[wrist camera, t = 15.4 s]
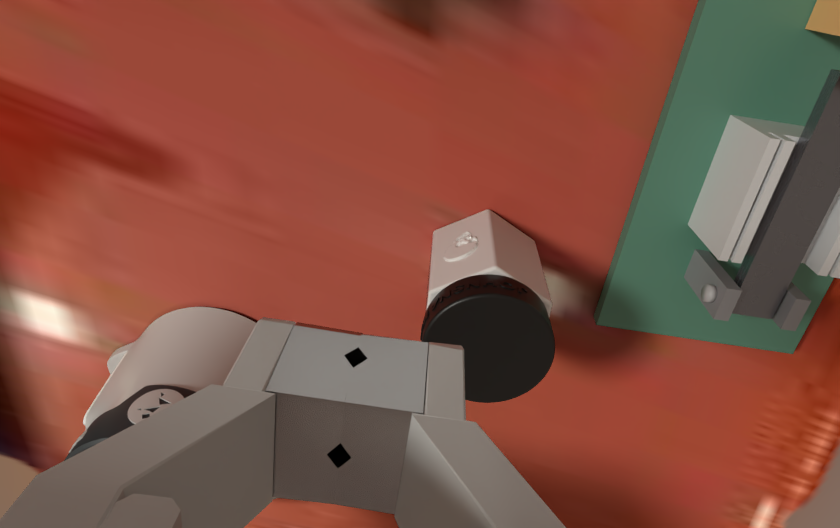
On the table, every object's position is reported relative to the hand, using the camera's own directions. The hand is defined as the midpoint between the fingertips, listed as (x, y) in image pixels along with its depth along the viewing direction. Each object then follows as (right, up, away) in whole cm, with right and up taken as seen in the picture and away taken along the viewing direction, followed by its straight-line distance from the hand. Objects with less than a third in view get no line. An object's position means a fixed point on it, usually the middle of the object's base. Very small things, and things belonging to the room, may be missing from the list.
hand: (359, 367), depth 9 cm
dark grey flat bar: (+25, +5, +28) cm, 38 cm away
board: (+25, +8, +33) cm, 42 cm away
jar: (+6, +2, +37) cm, 38 cm away
